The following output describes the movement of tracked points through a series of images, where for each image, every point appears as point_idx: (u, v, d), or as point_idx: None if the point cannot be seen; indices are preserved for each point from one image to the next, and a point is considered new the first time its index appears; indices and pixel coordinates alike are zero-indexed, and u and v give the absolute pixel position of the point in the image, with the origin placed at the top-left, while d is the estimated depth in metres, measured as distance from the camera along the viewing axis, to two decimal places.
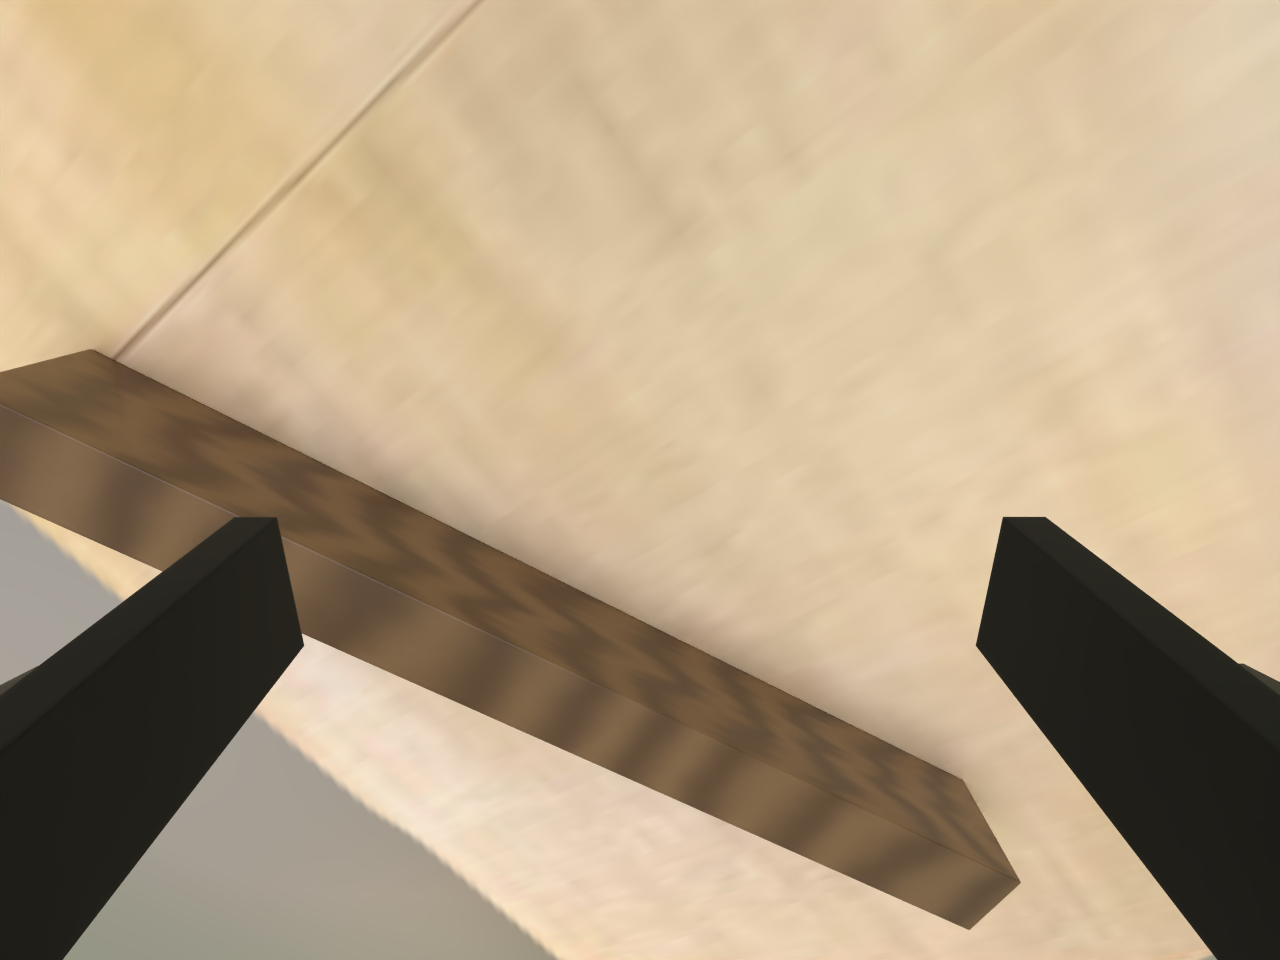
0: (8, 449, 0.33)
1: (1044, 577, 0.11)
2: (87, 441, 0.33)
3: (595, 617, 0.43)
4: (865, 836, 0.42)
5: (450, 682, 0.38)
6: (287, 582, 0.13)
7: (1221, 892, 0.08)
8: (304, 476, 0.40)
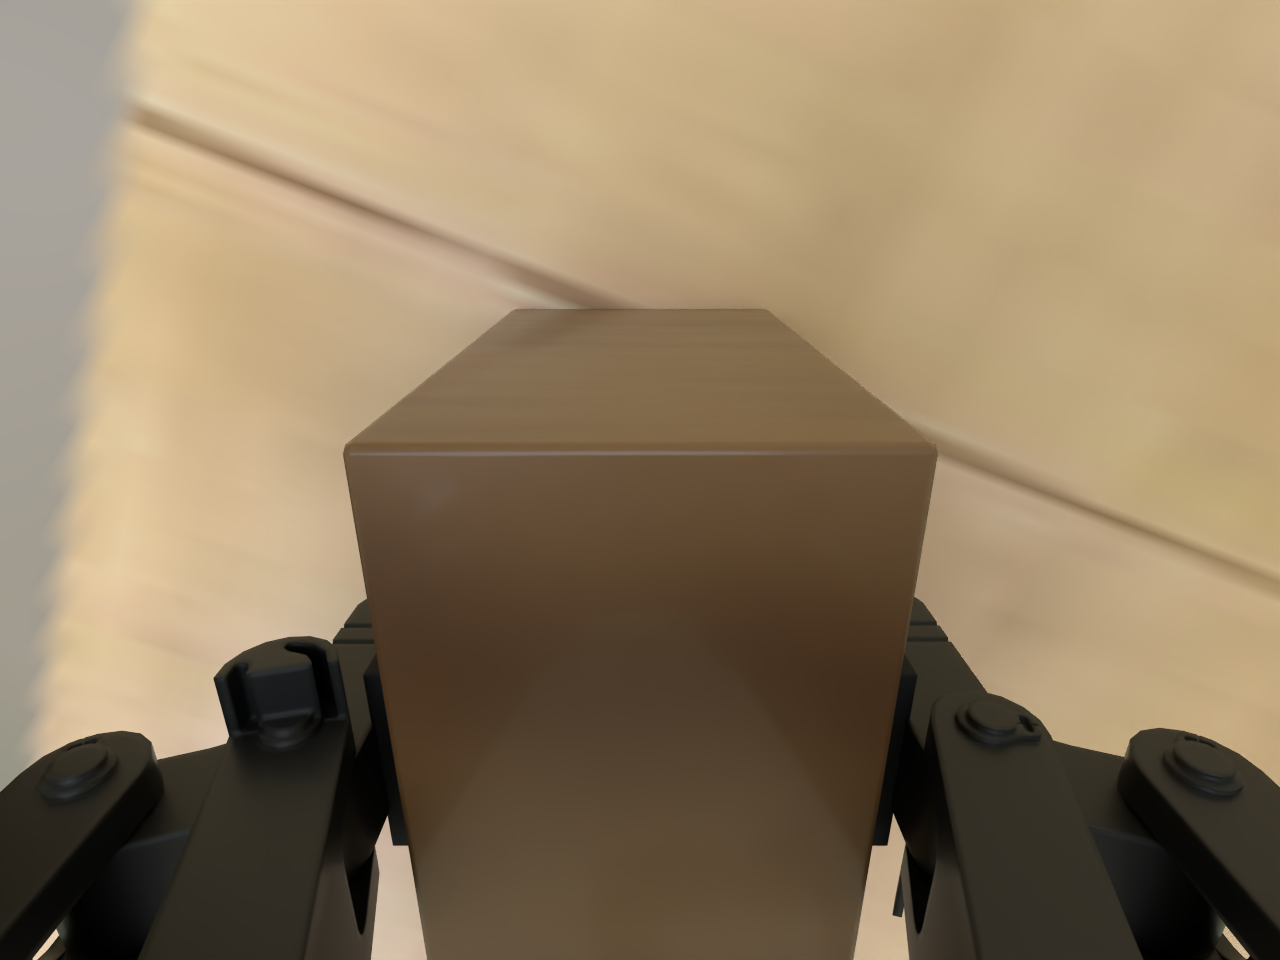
0: (679, 718, 0.07)
1: None
2: (856, 911, 0.08)
3: None
4: None
5: None
6: None
7: None
8: None
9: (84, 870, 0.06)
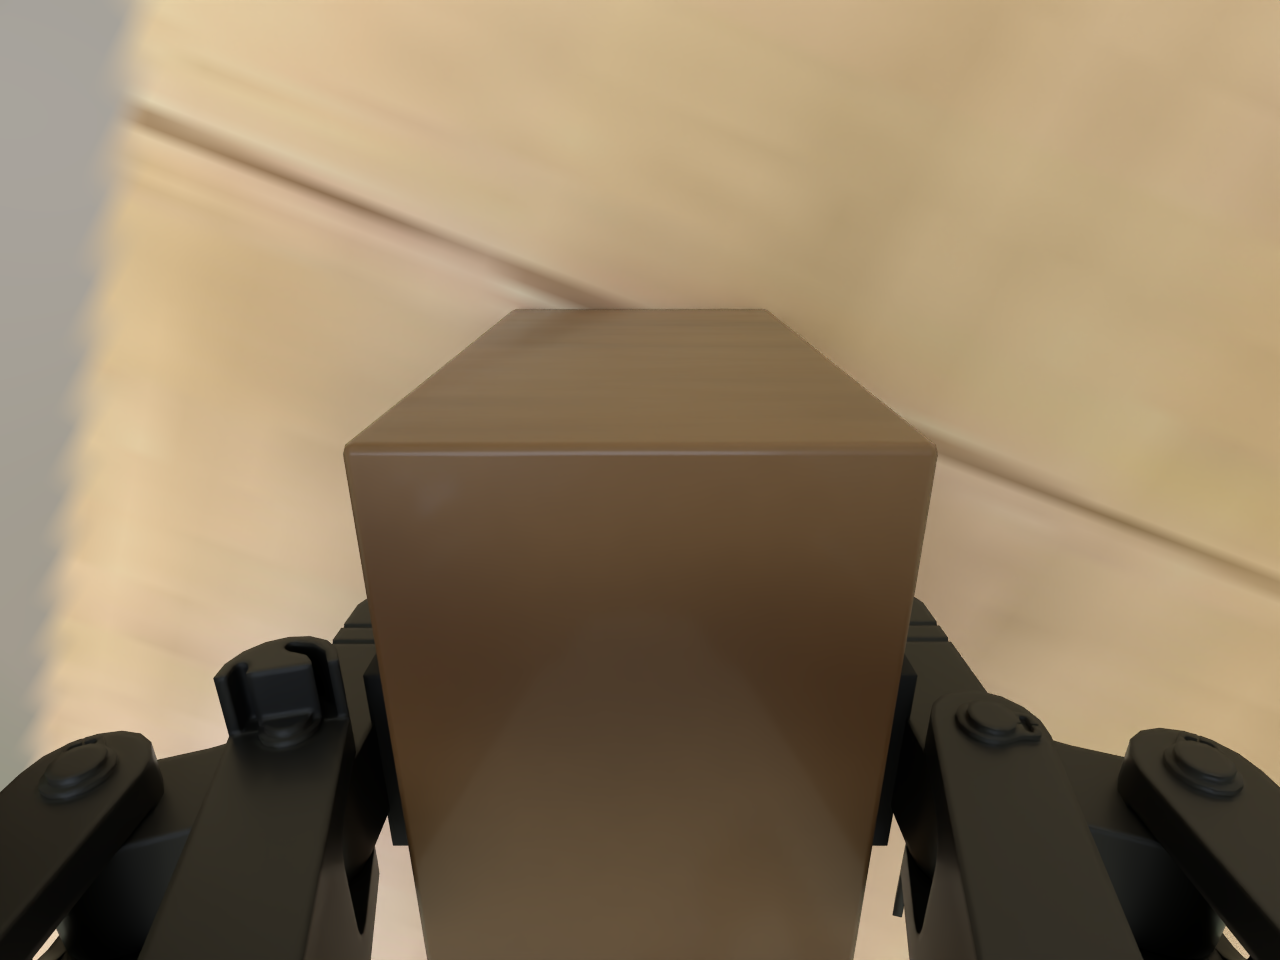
0: (679, 718, 0.07)
1: None
2: (855, 910, 0.08)
3: None
4: None
5: None
6: None
7: None
8: None
9: (85, 870, 0.06)
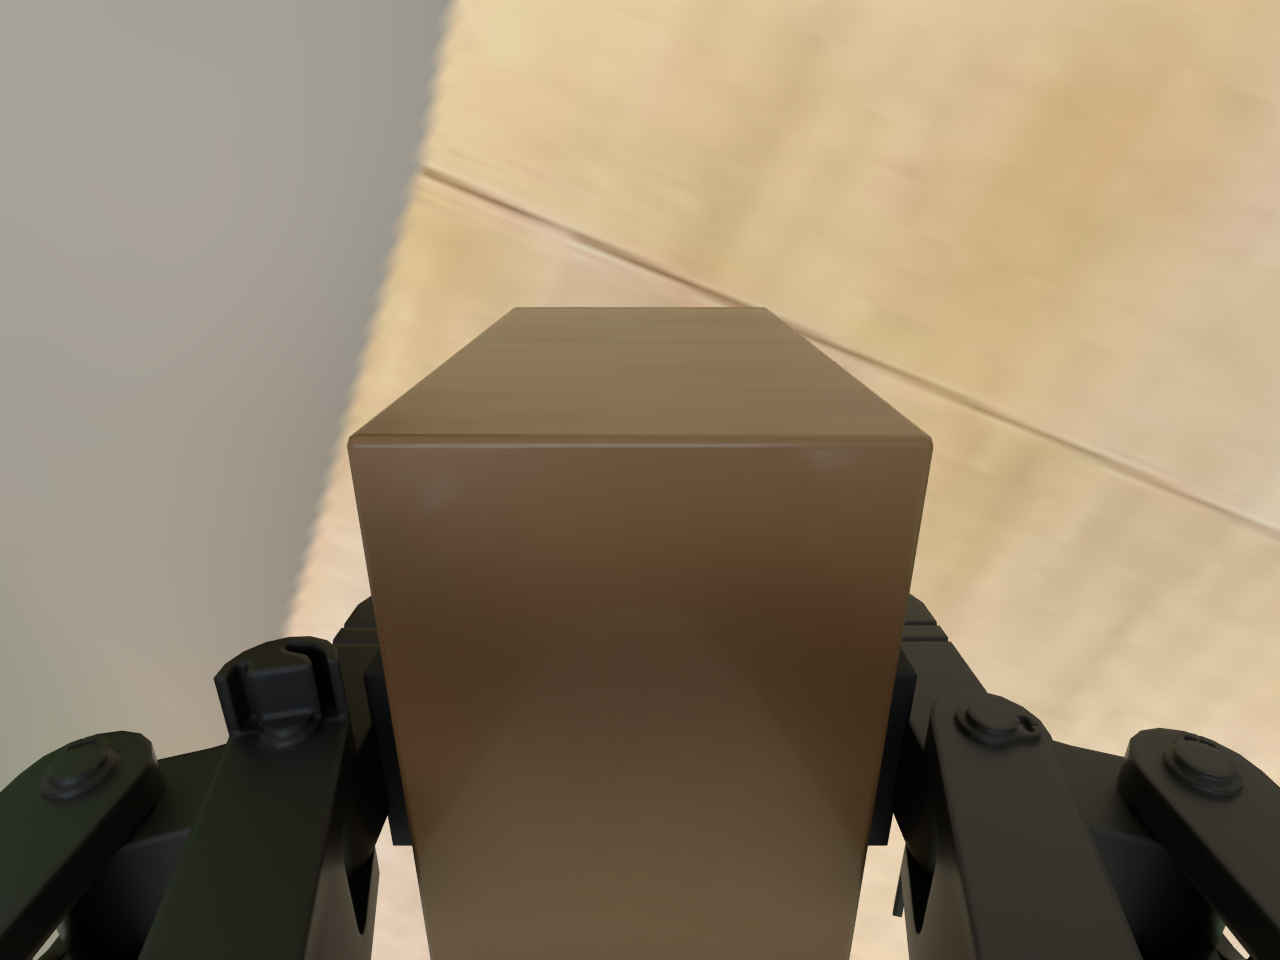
0: (678, 708, 0.07)
1: None
2: (853, 901, 0.08)
3: None
4: None
5: None
6: None
7: None
8: None
9: (84, 870, 0.06)
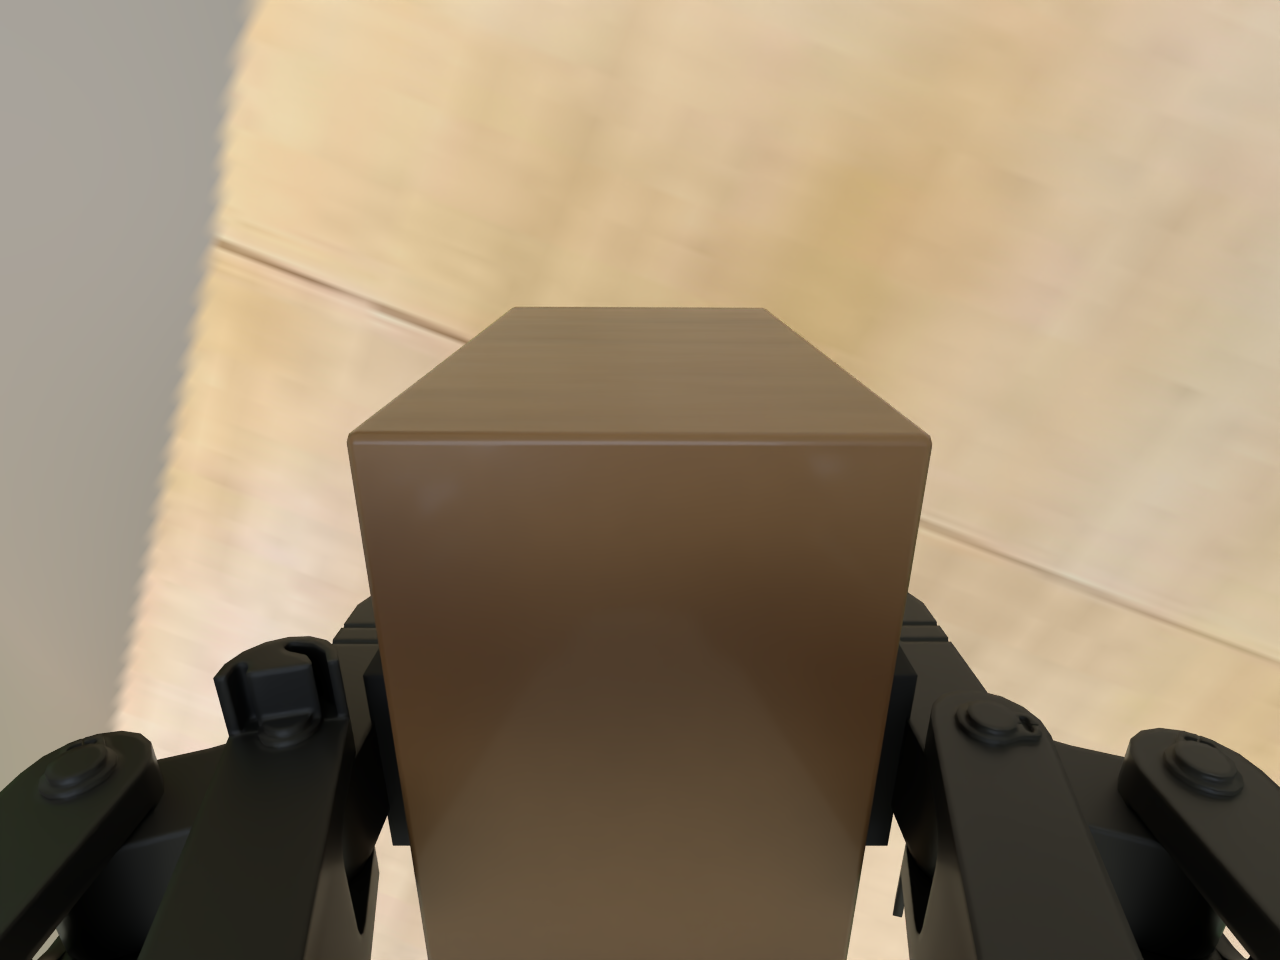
0: (676, 706, 0.07)
1: None
2: (851, 900, 0.08)
3: None
4: None
5: None
6: None
7: None
8: None
9: (84, 870, 0.06)
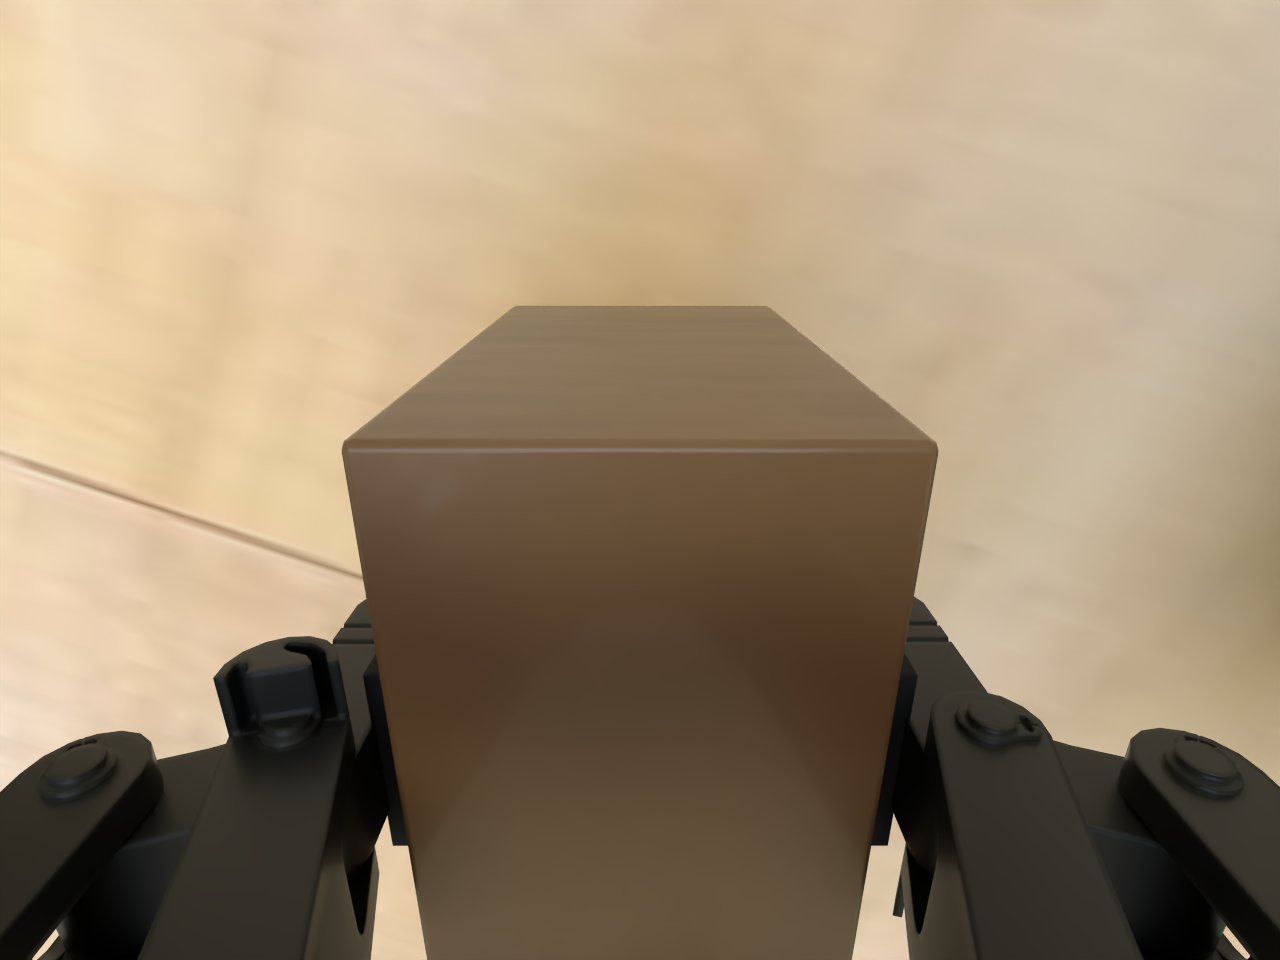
0: (678, 716, 0.07)
1: None
2: (855, 909, 0.08)
3: None
4: None
5: None
6: None
7: None
8: None
9: (84, 870, 0.06)
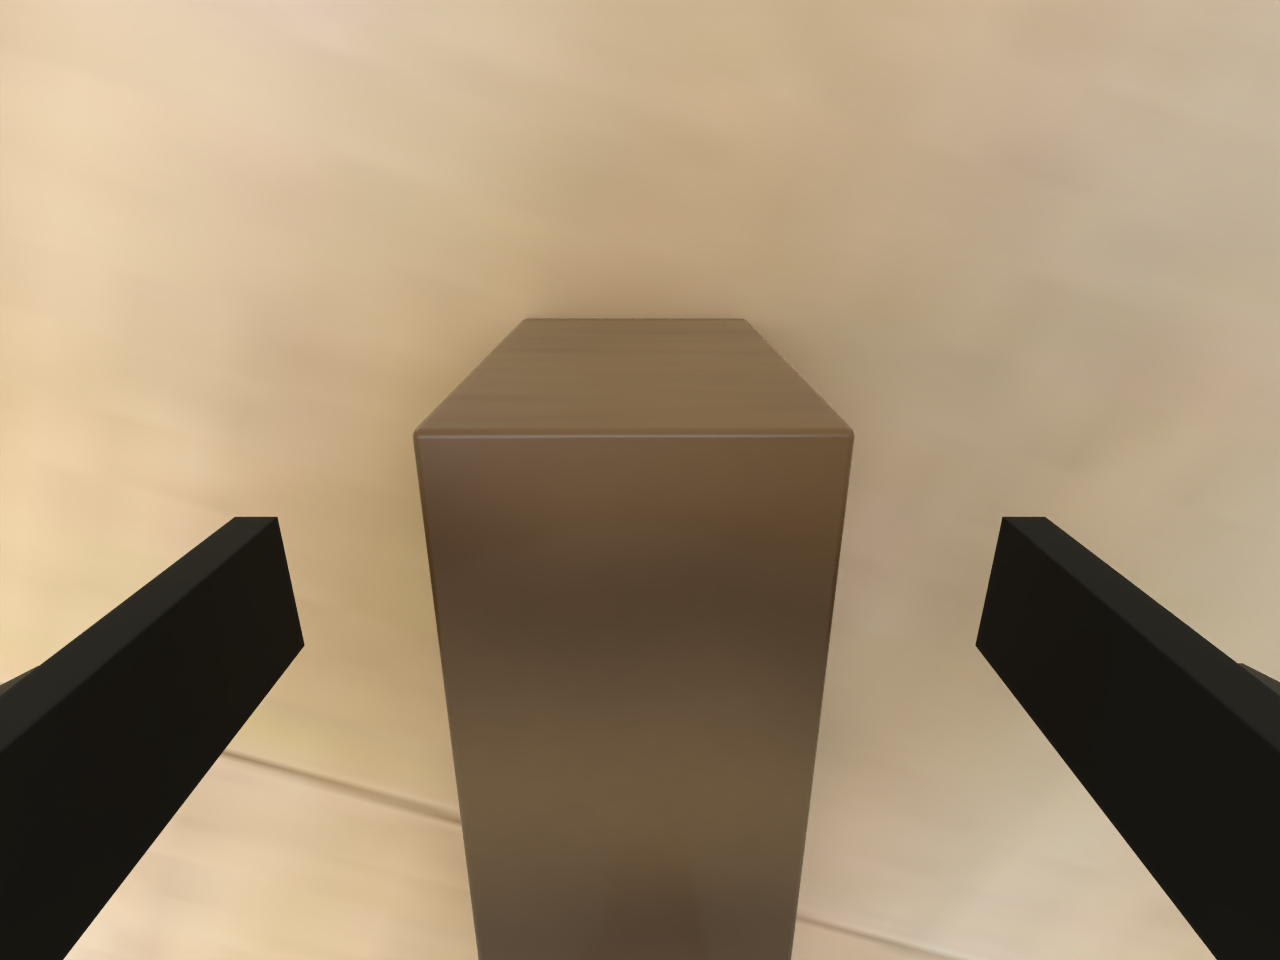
0: (663, 641, 0.09)
1: (1044, 577, 0.11)
2: (806, 804, 0.10)
3: None
4: None
5: None
6: (288, 582, 0.13)
7: (1220, 892, 0.08)
8: None
9: None
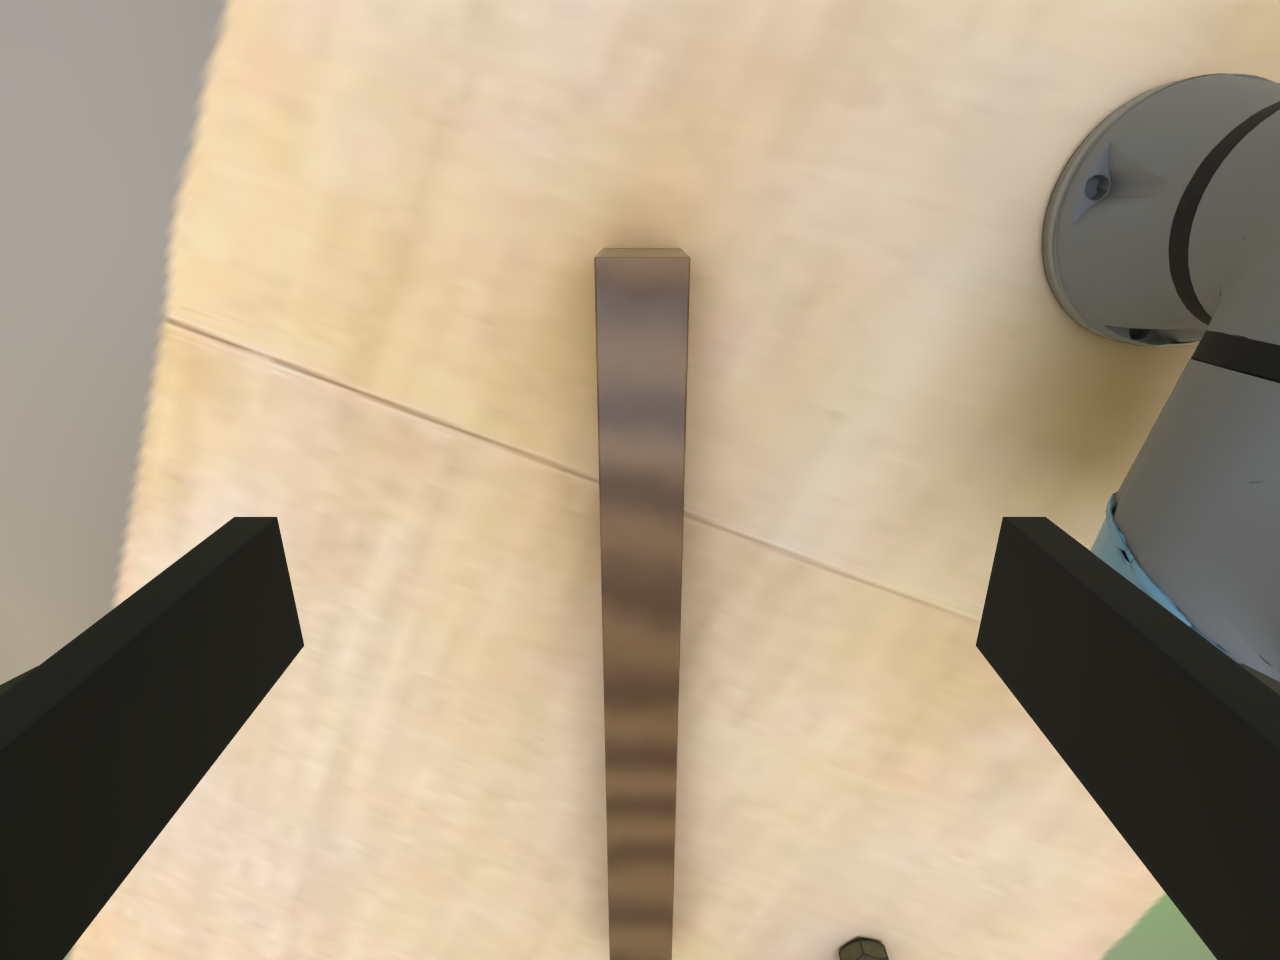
0: (649, 311, 0.37)
1: (1044, 577, 0.11)
2: None
3: None
4: (650, 947, 0.55)
5: (619, 675, 0.46)
6: (287, 582, 0.13)
7: (1221, 892, 0.08)
8: None
9: None
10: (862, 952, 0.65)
